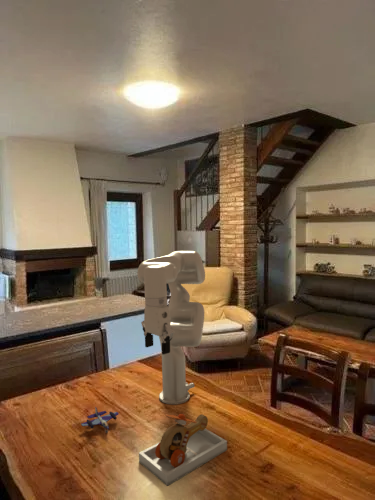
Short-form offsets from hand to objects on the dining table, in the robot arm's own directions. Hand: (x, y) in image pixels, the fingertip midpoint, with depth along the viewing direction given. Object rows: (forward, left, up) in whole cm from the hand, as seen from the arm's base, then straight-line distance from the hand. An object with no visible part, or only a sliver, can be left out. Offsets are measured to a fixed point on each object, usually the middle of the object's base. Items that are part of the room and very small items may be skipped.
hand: (157, 349), depth 131 cm
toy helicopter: (+4, +18, -28) cm, 33 cm away
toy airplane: (+15, -14, -29) cm, 35 cm away
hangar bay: (+4, +18, -28) cm, 34 cm away
